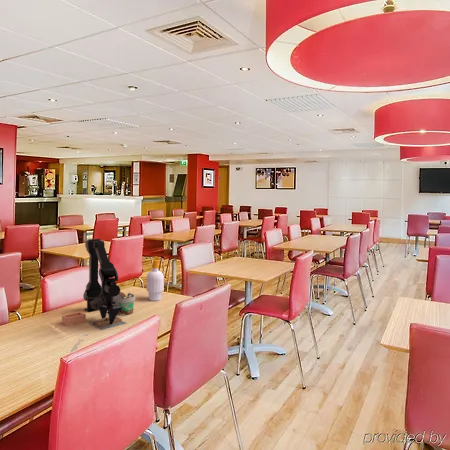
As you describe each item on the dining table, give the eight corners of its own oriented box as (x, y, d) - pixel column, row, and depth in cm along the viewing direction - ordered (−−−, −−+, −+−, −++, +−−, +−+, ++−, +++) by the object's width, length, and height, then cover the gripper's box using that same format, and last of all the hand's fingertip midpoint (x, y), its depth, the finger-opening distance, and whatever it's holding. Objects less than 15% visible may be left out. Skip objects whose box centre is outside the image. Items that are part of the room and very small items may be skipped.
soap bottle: (157, 302, 235) (158, 262, 233) (142, 300, 239) (143, 261, 236) (166, 298, 245) (167, 259, 242) (151, 296, 248) (152, 258, 246)
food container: (129, 318, 206) (129, 300, 205) (118, 317, 207) (118, 298, 206) (138, 311, 218) (139, 293, 217) (128, 310, 219) (128, 292, 218)
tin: (127, 307, 225) (127, 292, 224) (123, 308, 222) (123, 294, 221) (109, 302, 233) (109, 288, 232) (105, 303, 230) (105, 289, 229)
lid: (92, 323, 195) (92, 319, 195) (114, 318, 204) (114, 314, 203) (99, 327, 190) (99, 322, 190) (121, 321, 199) (121, 317, 199)
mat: (87, 323, 197) (87, 322, 197) (112, 317, 207) (112, 316, 207) (101, 331, 187) (101, 329, 187) (127, 324, 197) (127, 323, 197)
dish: (62, 324, 195) (61, 315, 194) (80, 320, 201) (80, 311, 201) (66, 327, 191) (66, 318, 190) (85, 323, 198) (85, 314, 197)
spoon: (90, 337, 181) (90, 334, 180) (73, 357, 160) (73, 353, 160) (81, 337, 181) (81, 333, 180) (62, 356, 160) (62, 352, 160)
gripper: (83, 290, 196) (83, 320, 198) (101, 298, 183) (101, 331, 185) (103, 286, 204) (103, 316, 206) (123, 294, 191) (122, 325, 193)
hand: (107, 322), depth 197 cm, fingers closed on lid, 7 cm apart
